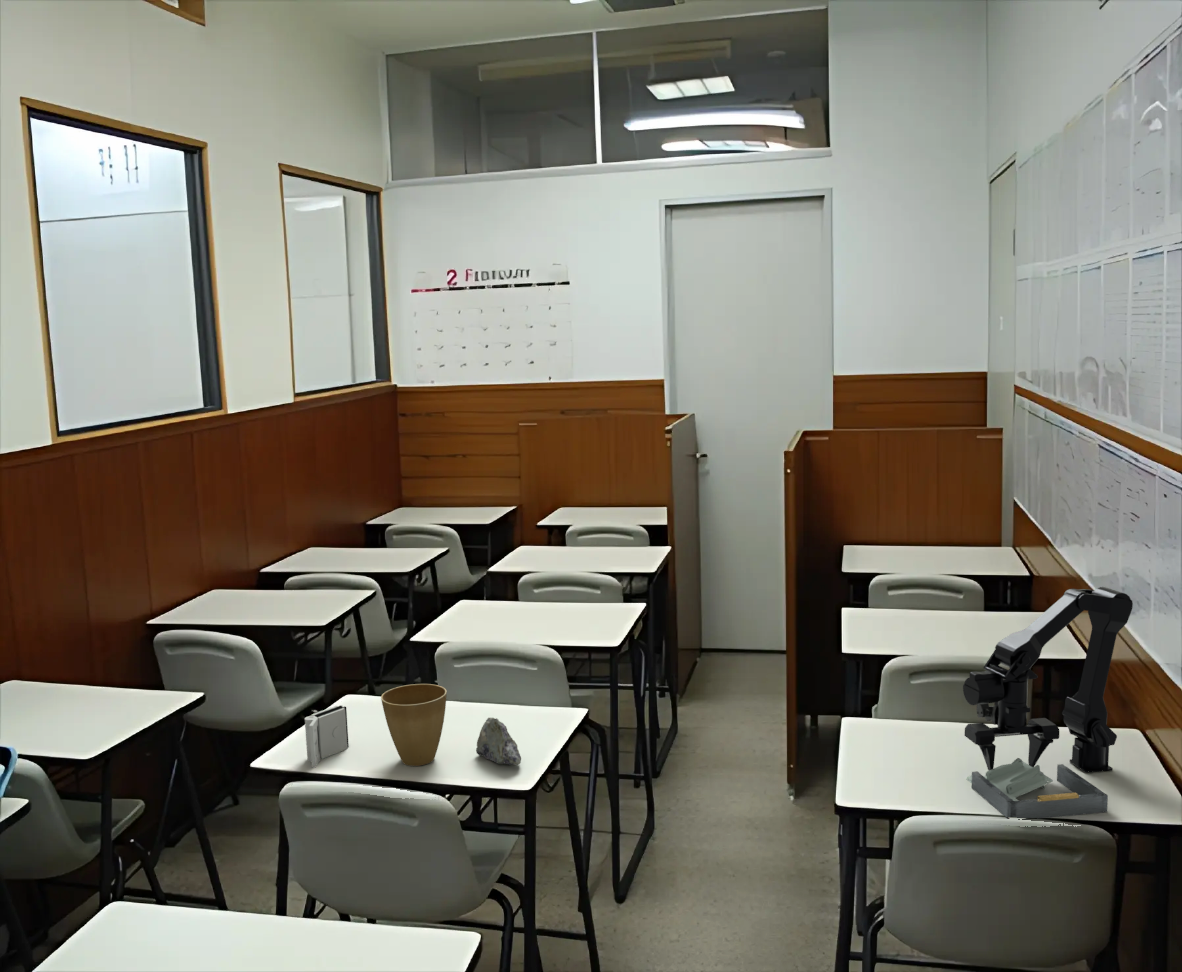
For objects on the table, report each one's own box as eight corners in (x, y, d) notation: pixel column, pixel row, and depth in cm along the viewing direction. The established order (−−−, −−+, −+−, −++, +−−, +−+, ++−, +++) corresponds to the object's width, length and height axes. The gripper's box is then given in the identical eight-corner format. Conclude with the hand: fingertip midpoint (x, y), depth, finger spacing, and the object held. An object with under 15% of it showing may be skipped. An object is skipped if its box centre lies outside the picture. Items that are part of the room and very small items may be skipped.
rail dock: (1062, 779, 234) (1062, 761, 233) (1107, 812, 218) (1108, 792, 218) (971, 787, 231) (971, 769, 231) (1010, 821, 215) (1011, 801, 215)
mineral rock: (521, 772, 246) (519, 729, 244) (472, 774, 246) (470, 731, 244) (523, 750, 259) (521, 709, 257) (477, 752, 258) (475, 711, 257)
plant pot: (448, 745, 263) (445, 680, 260) (450, 769, 248) (447, 701, 246) (385, 750, 260) (381, 685, 258) (383, 775, 246) (379, 706, 244)
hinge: (337, 766, 252) (334, 725, 250) (301, 767, 252) (299, 726, 250) (349, 745, 265) (347, 705, 263) (315, 746, 265) (313, 706, 263)
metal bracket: (1017, 748, 238) (1061, 774, 223) (1023, 771, 239) (1067, 799, 224) (959, 773, 235) (1000, 801, 221) (965, 797, 236) (1006, 827, 222)
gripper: (1033, 684, 242) (1031, 752, 244) (953, 690, 239) (951, 758, 242) (1062, 701, 231) (1059, 771, 233) (978, 707, 228) (976, 779, 231)
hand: (1010, 769), depth 235 cm, fingers open, 9 cm apart
